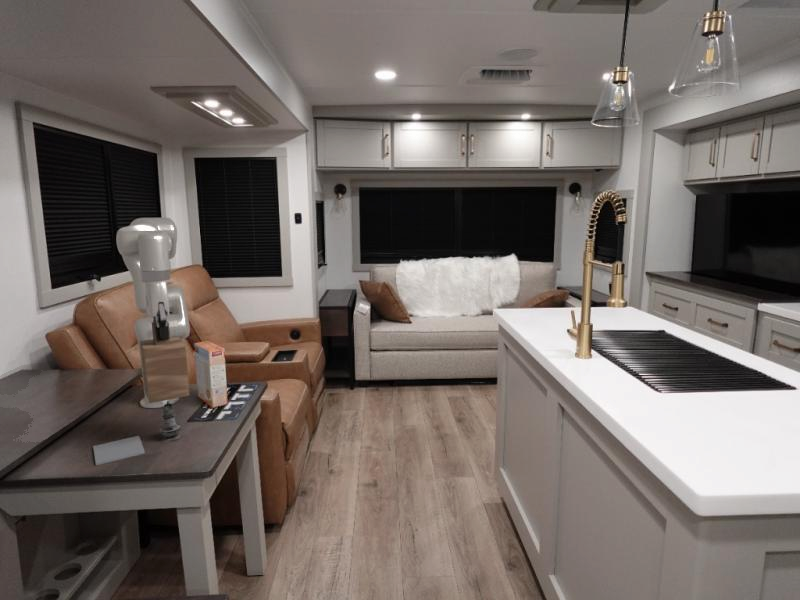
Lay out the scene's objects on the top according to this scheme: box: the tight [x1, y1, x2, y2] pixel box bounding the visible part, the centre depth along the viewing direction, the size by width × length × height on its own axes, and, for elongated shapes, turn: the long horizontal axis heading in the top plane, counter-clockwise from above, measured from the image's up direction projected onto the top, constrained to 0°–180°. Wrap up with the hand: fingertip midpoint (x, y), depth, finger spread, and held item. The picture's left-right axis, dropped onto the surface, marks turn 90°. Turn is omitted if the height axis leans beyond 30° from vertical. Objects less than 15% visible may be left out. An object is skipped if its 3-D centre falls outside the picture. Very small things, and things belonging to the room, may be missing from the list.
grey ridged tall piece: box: [159, 401, 182, 443], centre depth 150 cm, size 6×6×12 cm
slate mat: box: [92, 435, 146, 466], centre depth 144 cm, size 12×12×1 cm
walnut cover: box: [139, 322, 190, 403], centre depth 147 cm, size 11×11×22 cm
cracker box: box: [193, 340, 229, 409], centre depth 178 cm, size 14×6×21 cm, turn 41°
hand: (161, 337), depth 146 cm, fingers closed on walnut cover, 4 cm apart
